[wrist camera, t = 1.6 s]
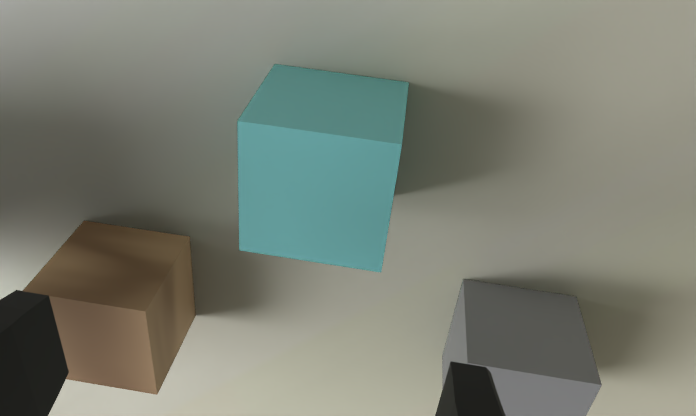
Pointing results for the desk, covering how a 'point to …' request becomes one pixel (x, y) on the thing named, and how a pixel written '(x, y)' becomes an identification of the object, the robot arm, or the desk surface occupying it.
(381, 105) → the teal block
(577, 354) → the gray cube
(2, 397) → the robot arm
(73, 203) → the desk surface
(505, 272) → the desk surface
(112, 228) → the walnut block
